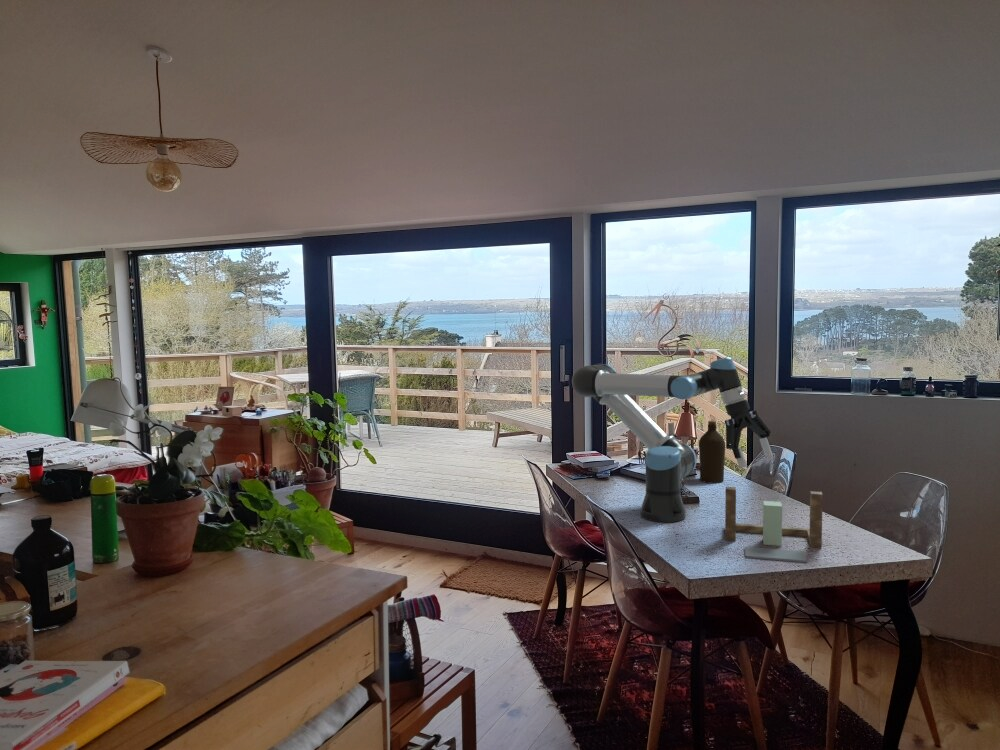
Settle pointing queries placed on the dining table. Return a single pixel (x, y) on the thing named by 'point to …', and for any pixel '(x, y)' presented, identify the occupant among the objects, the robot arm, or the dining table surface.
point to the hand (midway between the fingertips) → (756, 461)
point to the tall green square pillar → (772, 523)
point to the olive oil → (712, 455)
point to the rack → (812, 534)
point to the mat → (775, 554)
